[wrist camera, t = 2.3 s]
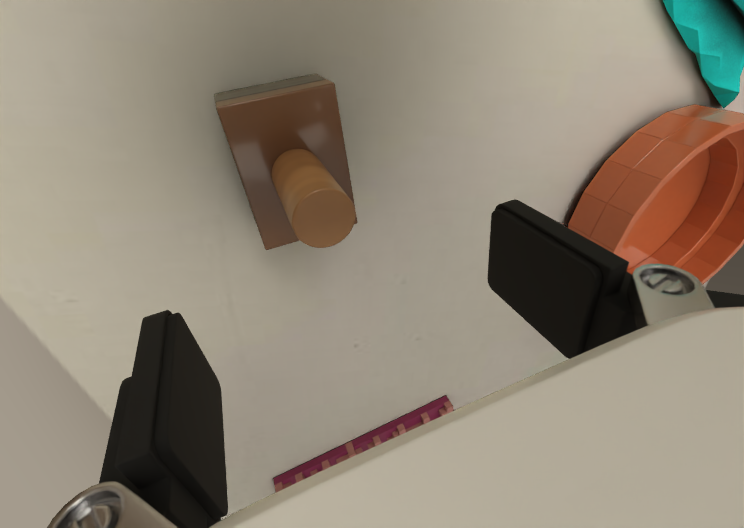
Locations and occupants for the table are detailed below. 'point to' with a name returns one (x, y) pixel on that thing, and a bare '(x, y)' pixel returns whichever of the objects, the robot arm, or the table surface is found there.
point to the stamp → (291, 159)
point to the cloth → (713, 41)
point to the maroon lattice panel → (365, 442)
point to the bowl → (671, 193)
